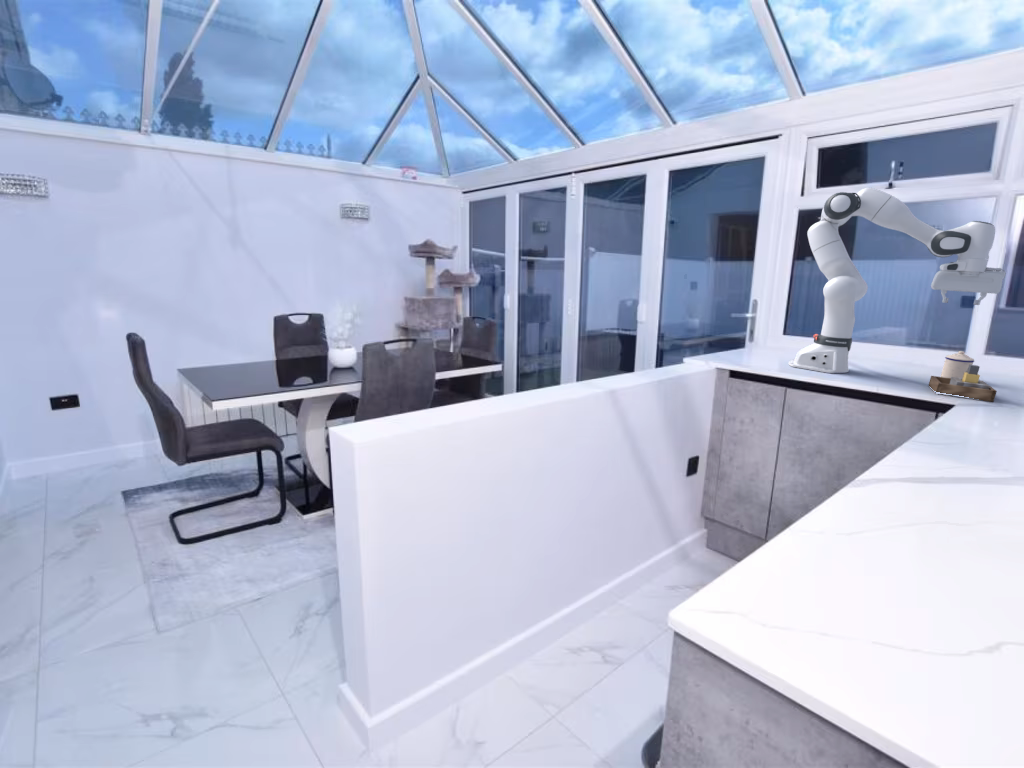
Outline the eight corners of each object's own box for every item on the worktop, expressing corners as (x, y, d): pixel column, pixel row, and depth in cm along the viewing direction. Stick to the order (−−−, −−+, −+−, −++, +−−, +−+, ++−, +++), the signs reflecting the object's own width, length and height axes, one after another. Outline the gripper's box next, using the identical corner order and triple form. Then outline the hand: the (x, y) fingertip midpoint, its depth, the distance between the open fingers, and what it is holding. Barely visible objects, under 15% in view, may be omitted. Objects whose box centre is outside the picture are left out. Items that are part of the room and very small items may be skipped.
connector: (961, 392, 186) (969, 365, 183) (959, 390, 189) (966, 364, 186) (974, 394, 184) (982, 367, 182) (971, 392, 187) (979, 365, 185)
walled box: (935, 394, 186) (939, 380, 184) (928, 385, 197) (931, 373, 196) (993, 402, 178) (997, 388, 177) (982, 393, 190) (986, 380, 189)
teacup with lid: (967, 383, 204) (976, 354, 201) (938, 378, 210) (946, 350, 207) (969, 378, 213) (977, 351, 210) (941, 374, 218) (948, 347, 215)
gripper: (1004, 268, 190) (993, 305, 194) (935, 264, 200) (926, 300, 203) (1010, 268, 185) (998, 307, 189) (938, 265, 194) (929, 301, 198)
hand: (960, 303), depth 196 cm, fingers open, 8 cm apart
